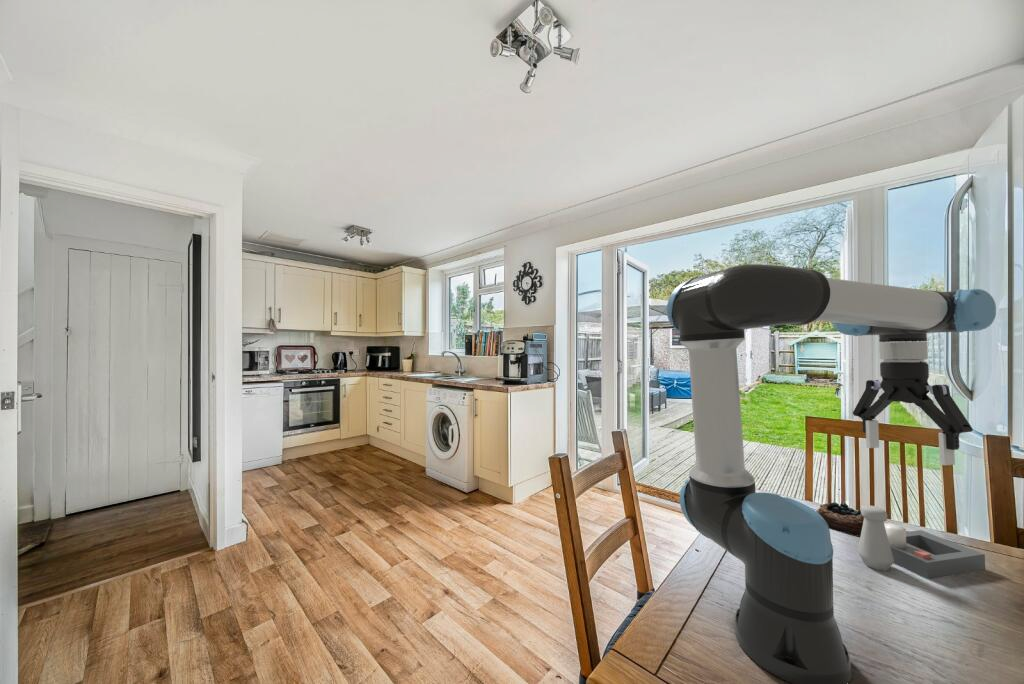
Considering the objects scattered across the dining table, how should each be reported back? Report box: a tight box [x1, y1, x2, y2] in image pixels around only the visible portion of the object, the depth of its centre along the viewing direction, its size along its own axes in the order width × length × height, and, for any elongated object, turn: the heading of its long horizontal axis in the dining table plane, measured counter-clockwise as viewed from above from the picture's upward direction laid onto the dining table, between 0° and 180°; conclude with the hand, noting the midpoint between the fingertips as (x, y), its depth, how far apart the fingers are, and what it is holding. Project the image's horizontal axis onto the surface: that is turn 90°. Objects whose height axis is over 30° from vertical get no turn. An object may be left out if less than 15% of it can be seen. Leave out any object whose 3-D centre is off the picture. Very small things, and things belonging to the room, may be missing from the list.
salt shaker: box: [857, 504, 895, 572], centre depth 83 cm, size 6×6×13 cm
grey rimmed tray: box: [884, 522, 986, 580], centre depth 85 cm, size 16×11×8 cm
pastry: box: [815, 501, 864, 538], centre depth 102 cm, size 11×12×6 cm
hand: (907, 455), depth 83 cm, fingers open, 13 cm apart
